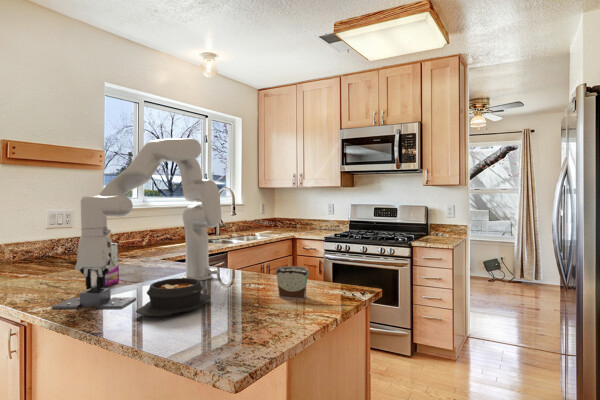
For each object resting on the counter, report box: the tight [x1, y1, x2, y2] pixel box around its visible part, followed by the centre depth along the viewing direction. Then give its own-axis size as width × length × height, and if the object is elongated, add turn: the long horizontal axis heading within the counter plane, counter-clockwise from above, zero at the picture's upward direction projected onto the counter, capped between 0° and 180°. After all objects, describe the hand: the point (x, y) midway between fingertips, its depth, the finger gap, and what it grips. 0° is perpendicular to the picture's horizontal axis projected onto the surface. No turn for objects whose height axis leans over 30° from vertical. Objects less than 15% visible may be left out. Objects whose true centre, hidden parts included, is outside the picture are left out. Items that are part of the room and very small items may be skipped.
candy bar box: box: [92, 242, 120, 288], centre depth 152 cm, size 11×5×16 cm, turn 168°
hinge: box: [51, 287, 137, 310], centre depth 126 cm, size 23×10×4 cm, turn 89°
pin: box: [90, 269, 101, 292], centre depth 126 cm, size 3×3×8 cm
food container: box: [274, 265, 310, 300], centre depth 134 cm, size 12×6×10 cm, turn 71°
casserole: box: [135, 277, 212, 318], centre depth 119 cm, size 25×19×8 cm
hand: (95, 287), depth 126 cm, fingers closed on pin, 3 cm apart
